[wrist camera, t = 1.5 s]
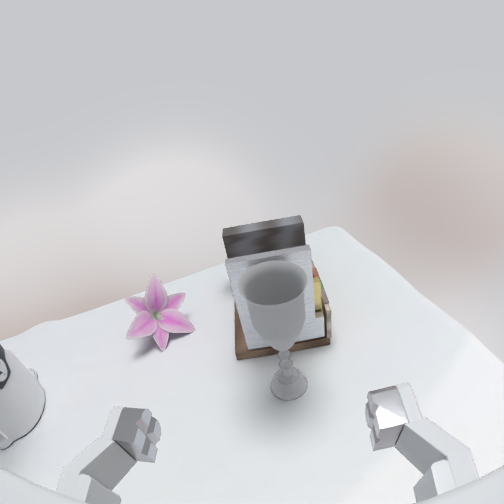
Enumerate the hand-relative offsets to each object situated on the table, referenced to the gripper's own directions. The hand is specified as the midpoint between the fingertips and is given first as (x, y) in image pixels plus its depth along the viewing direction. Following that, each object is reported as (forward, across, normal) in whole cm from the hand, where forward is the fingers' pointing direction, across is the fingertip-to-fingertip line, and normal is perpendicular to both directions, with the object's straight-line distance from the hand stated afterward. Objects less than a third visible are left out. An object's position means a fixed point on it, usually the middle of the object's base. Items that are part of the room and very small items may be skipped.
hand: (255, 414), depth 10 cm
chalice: (+20, 0, -25) cm, 33 cm away
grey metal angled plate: (+31, 0, -23) cm, 38 cm away
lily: (+33, -21, -25) cm, 46 cm away
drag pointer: (+29, +5, -23) cm, 37 cm away
